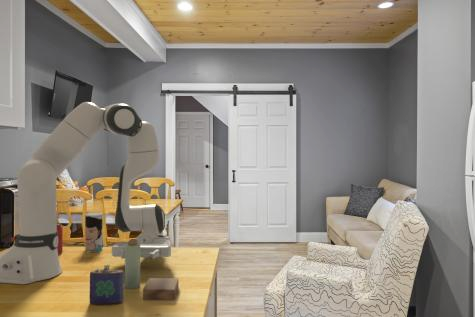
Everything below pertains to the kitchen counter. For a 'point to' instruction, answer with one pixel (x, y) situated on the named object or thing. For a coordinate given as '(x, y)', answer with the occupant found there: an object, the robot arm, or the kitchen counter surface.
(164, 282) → the plinth
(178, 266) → the kitchen counter surface
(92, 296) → the flask
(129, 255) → the pepper mill
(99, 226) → the cup
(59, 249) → the beer can
